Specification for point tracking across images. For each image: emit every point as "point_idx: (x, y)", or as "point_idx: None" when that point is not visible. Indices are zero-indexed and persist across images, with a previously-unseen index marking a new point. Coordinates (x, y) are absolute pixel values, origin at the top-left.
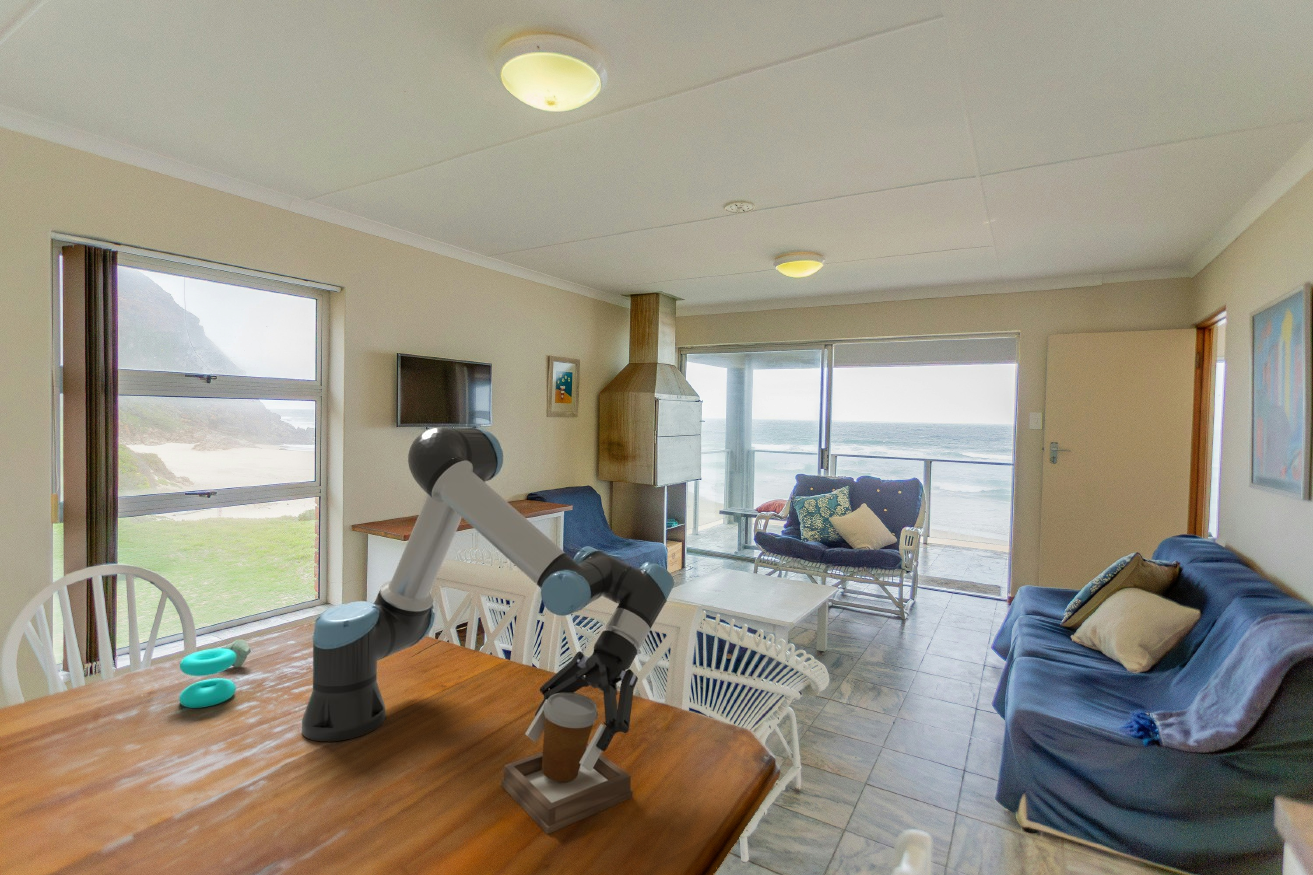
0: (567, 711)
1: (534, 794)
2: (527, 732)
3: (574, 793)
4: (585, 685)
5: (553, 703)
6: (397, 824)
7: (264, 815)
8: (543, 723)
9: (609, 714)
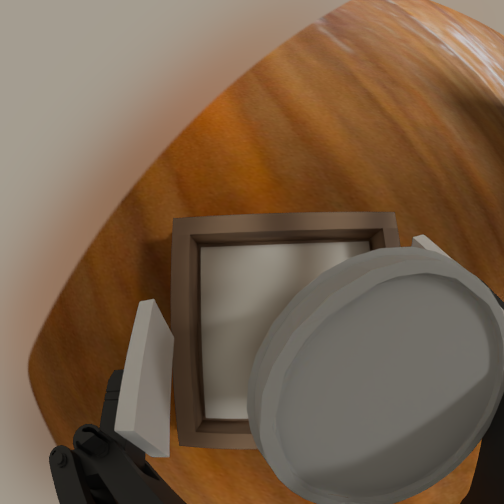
0: (352, 352)
1: (243, 216)
2: (423, 239)
3: (243, 328)
4: (465, 502)
5: (453, 307)
6: (339, 80)
7: (399, 34)
8: None
9: (117, 483)
